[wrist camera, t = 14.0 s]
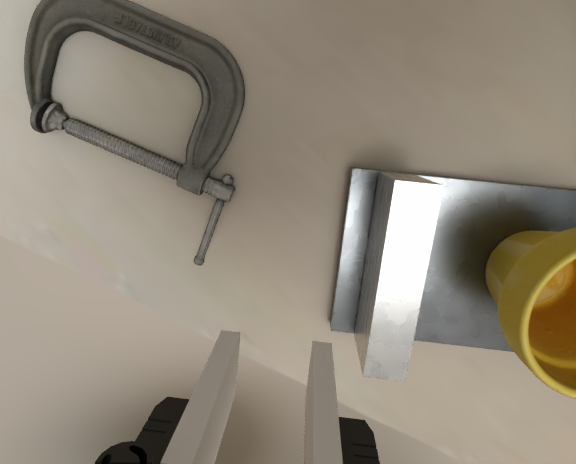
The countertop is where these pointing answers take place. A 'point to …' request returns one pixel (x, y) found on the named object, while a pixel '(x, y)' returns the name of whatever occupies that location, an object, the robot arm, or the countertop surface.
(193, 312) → the countertop surface
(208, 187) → the c clamp
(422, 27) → the countertop surface
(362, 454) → the robot arm
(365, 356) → the steel jaw
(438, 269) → the vise base
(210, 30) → the countertop surface
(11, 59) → the countertop surface
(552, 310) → the plant pot
